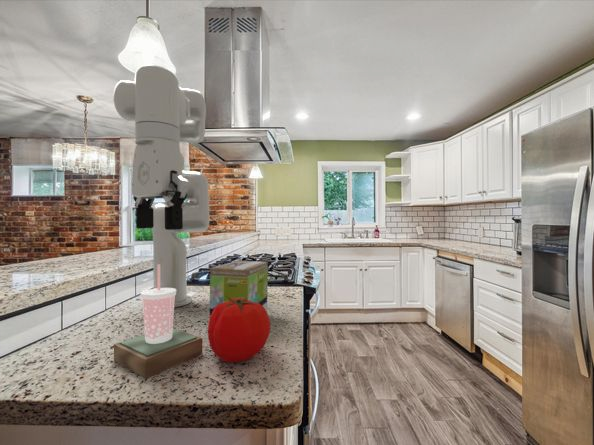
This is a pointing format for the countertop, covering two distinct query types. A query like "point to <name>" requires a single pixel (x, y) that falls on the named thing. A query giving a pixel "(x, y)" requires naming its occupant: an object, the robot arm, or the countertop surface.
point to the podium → (157, 353)
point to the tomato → (238, 329)
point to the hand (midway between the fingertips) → (158, 228)
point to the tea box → (239, 282)
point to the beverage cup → (158, 312)
